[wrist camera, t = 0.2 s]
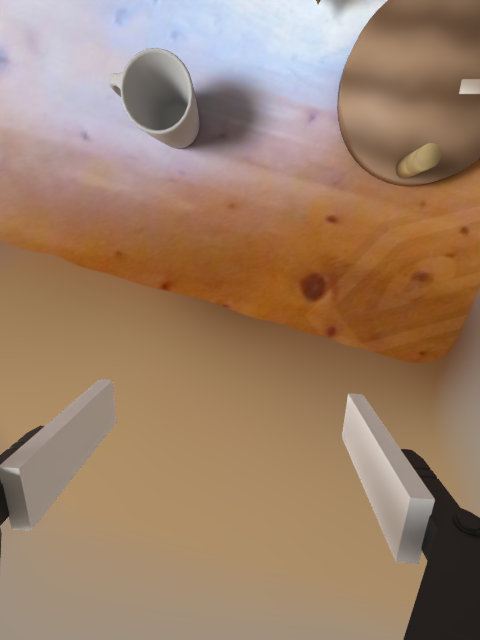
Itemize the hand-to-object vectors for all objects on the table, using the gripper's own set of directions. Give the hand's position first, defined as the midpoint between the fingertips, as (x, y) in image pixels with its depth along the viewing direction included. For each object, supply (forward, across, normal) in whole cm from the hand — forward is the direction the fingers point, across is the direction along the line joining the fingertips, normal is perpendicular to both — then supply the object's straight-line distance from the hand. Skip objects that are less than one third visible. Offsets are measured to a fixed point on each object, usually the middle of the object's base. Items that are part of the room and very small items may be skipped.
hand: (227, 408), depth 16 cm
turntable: (+28, +20, +27) cm, 44 cm away
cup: (+28, -11, +24) cm, 39 cm away
